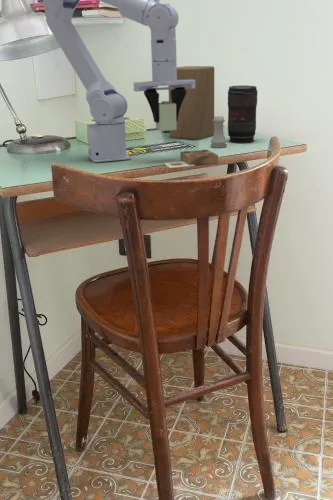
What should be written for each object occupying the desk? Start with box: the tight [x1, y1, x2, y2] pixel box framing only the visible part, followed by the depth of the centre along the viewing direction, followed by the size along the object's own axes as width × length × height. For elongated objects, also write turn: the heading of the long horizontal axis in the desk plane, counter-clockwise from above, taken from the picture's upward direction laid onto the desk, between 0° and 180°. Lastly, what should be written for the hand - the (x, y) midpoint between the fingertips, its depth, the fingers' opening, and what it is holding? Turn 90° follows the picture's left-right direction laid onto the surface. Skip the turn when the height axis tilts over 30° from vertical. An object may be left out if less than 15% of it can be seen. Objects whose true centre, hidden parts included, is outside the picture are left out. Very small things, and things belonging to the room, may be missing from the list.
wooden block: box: [167, 65, 215, 141], centre depth 160 cm, size 10×10×20 cm
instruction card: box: [163, 161, 196, 169], centre depth 126 cm, size 6×5×1 cm
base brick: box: [179, 149, 219, 166], centre depth 129 cm, size 7×7×2 cm
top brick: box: [155, 100, 177, 132], centre depth 128 cm, size 4×4×6 cm
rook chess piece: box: [210, 115, 228, 149], centre depth 145 cm, size 4×4×8 cm
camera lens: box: [227, 84, 258, 144], centre depth 151 cm, size 8×8×15 cm
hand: (165, 121), depth 129 cm, fingers closed on top brick, 4 cm apart
